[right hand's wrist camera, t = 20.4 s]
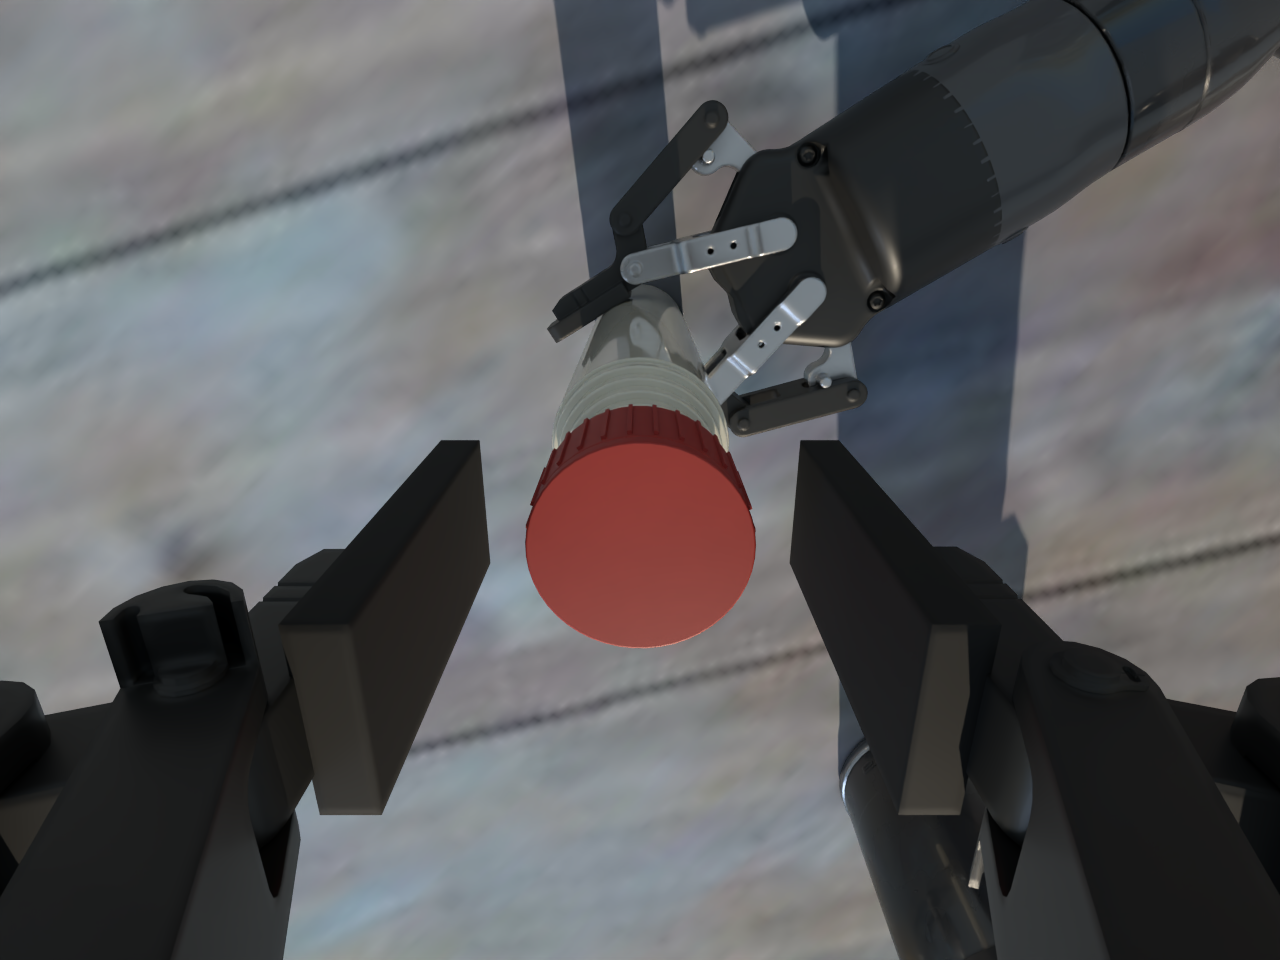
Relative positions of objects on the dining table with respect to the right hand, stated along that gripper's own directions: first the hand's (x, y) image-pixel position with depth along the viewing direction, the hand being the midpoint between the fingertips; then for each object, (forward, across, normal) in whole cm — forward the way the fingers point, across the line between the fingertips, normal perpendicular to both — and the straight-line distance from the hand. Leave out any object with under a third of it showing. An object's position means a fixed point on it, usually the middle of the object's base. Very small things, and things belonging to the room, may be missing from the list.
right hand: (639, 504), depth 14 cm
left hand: (+17, -2, -1) cm, 17 cm away
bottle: (+23, 0, 0) cm, 23 cm away
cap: (-2, 0, 0) cm, 2 cm away
